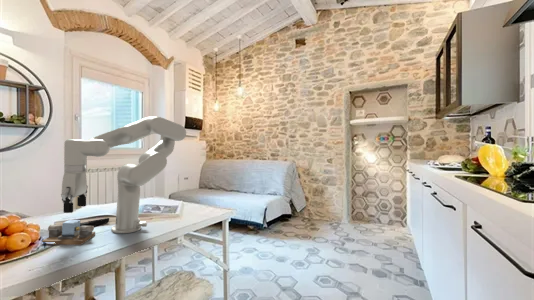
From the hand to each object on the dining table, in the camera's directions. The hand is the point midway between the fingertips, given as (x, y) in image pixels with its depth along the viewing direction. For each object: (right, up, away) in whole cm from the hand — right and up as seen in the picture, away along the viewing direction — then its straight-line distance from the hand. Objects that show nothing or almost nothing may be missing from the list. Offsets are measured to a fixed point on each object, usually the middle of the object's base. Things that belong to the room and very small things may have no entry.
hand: (75, 209), depth 107 cm
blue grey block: (-1, -11, -1) cm, 11 cm away
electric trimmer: (-5, -13, +17) cm, 22 cm away
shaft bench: (-2, -13, -1) cm, 13 cm away
